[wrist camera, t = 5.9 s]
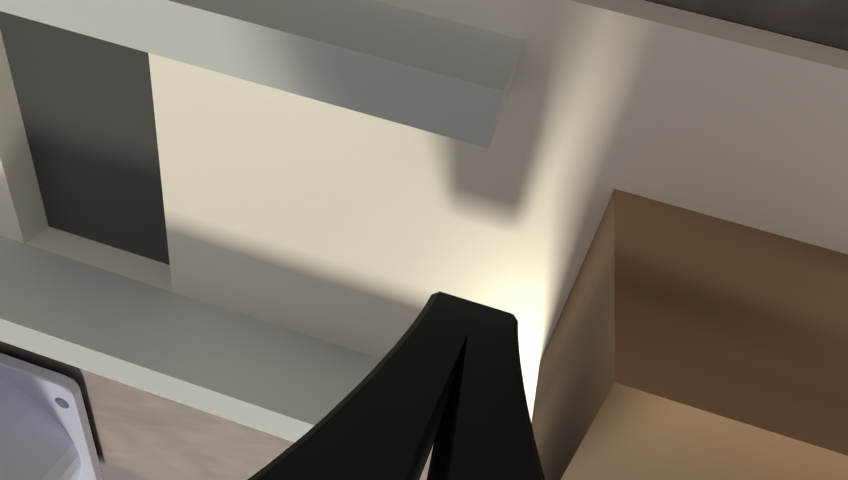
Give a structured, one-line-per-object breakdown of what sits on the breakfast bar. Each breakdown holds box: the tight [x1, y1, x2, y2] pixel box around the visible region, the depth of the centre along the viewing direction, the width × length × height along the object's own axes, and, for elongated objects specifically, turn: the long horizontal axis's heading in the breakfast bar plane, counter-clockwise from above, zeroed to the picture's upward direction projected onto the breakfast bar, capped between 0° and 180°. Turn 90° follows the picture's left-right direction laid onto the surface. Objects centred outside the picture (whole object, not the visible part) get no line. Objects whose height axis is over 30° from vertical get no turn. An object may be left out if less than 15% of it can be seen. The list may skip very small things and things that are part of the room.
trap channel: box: [0, 0, 848, 442], centre depth 12 cm, size 10×19×3 cm, turn 79°
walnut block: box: [531, 189, 848, 480], centre depth 9 cm, size 4×4×4 cm
